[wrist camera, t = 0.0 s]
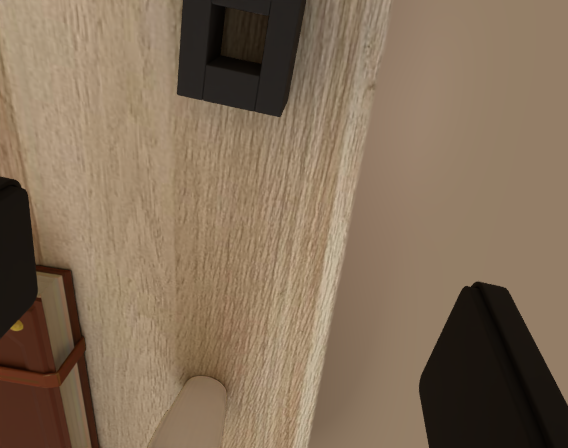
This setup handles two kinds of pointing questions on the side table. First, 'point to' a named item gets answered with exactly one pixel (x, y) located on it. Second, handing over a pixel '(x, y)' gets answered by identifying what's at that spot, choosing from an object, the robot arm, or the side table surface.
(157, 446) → the white ribbed cylinder
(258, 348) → the side table surface
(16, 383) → the book
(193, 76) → the small black rectangular frame
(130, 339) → the side table surface
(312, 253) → the side table surface
